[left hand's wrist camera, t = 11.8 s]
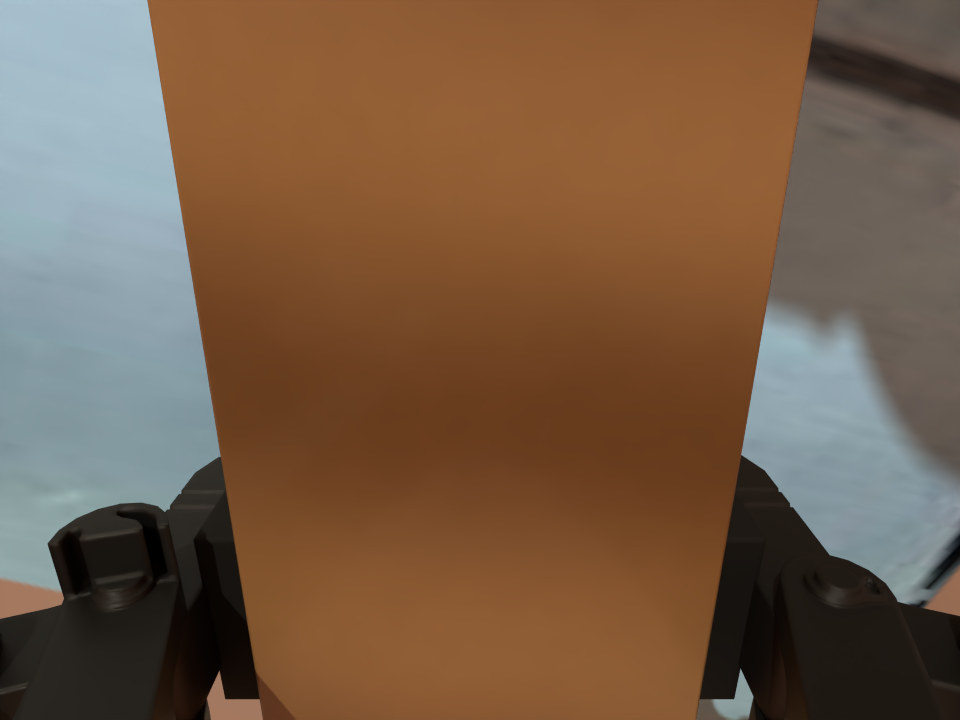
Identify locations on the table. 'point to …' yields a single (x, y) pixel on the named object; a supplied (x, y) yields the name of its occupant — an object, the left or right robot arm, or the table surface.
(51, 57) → the table surface
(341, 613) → the post
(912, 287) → the table surface
